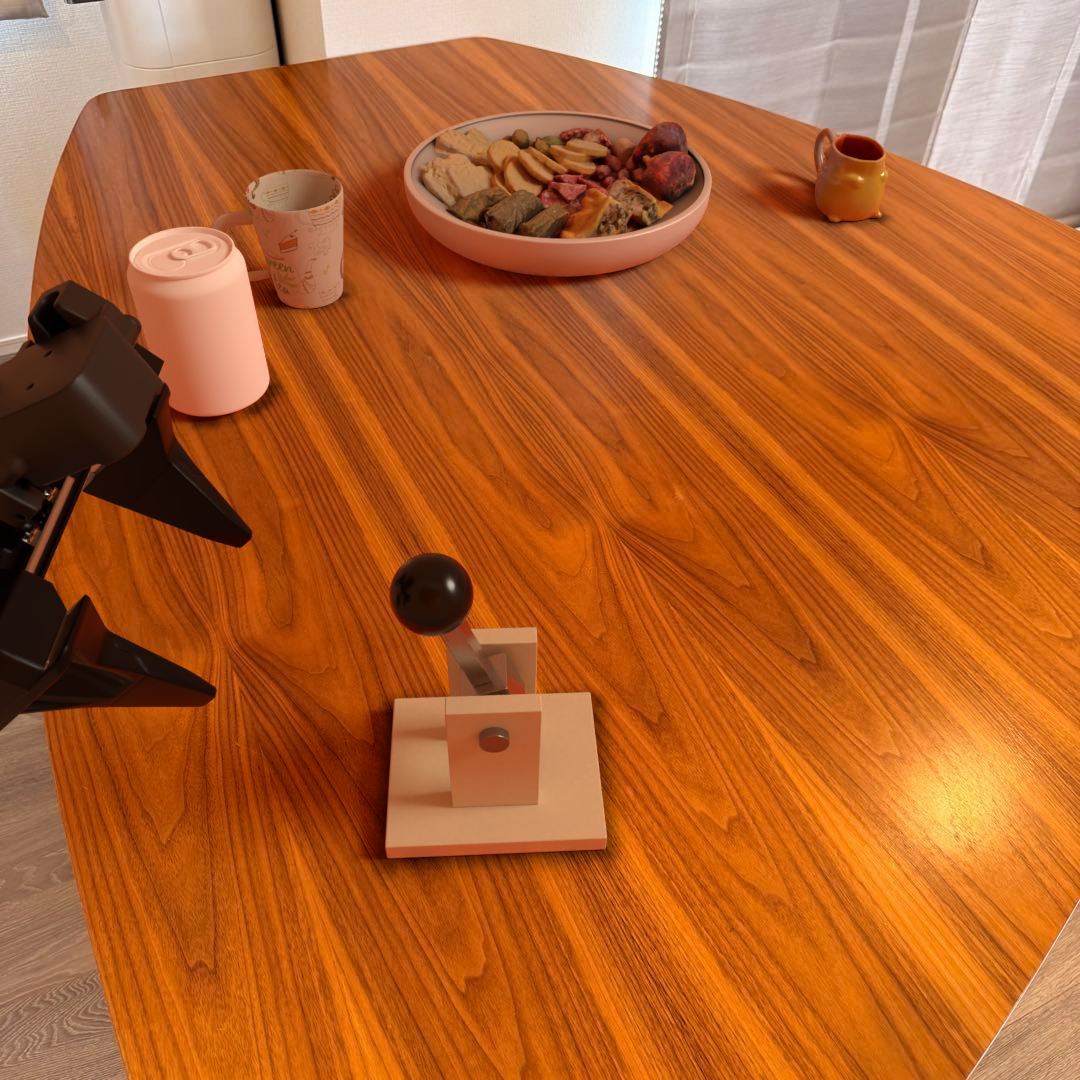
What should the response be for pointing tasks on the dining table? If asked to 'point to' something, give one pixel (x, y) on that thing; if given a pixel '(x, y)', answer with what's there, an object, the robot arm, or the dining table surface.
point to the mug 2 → (849, 176)
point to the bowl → (558, 191)
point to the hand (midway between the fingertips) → (230, 613)
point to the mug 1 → (296, 234)
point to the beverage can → (199, 319)
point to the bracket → (494, 766)
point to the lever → (450, 621)
